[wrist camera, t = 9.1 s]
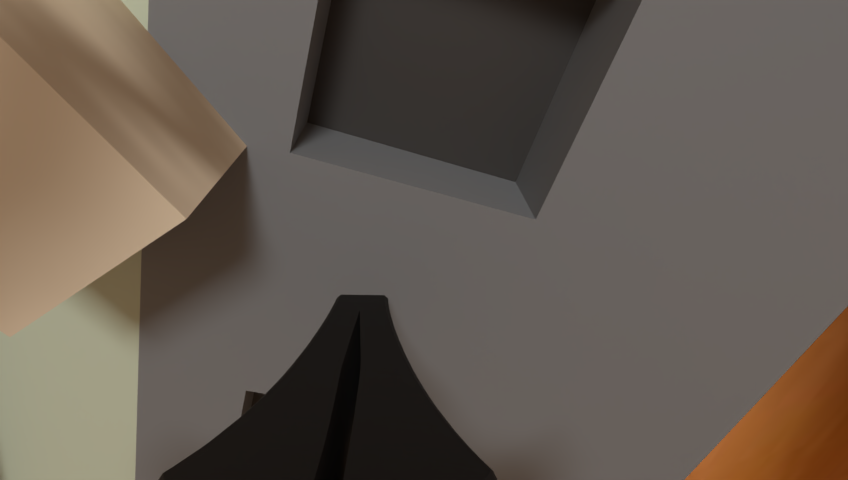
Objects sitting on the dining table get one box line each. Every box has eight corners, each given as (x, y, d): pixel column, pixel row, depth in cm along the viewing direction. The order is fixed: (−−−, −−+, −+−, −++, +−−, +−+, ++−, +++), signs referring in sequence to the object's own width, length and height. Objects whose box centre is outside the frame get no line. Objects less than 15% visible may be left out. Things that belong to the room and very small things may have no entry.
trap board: (983, 11, 14) (1206, 29, 10) (575, 515, 27) (605, 609, 23) (-112, -488, 9) (-518, -850, 5) (23, 437, 21) (-59, 542, 18)
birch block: (246, 145, 12) (186, 218, 9) (111, 240, 13) (10, 337, 10) (79, -49, 10) (-95, -56, 6) (-67, 85, 11) (-280, 140, 8)
